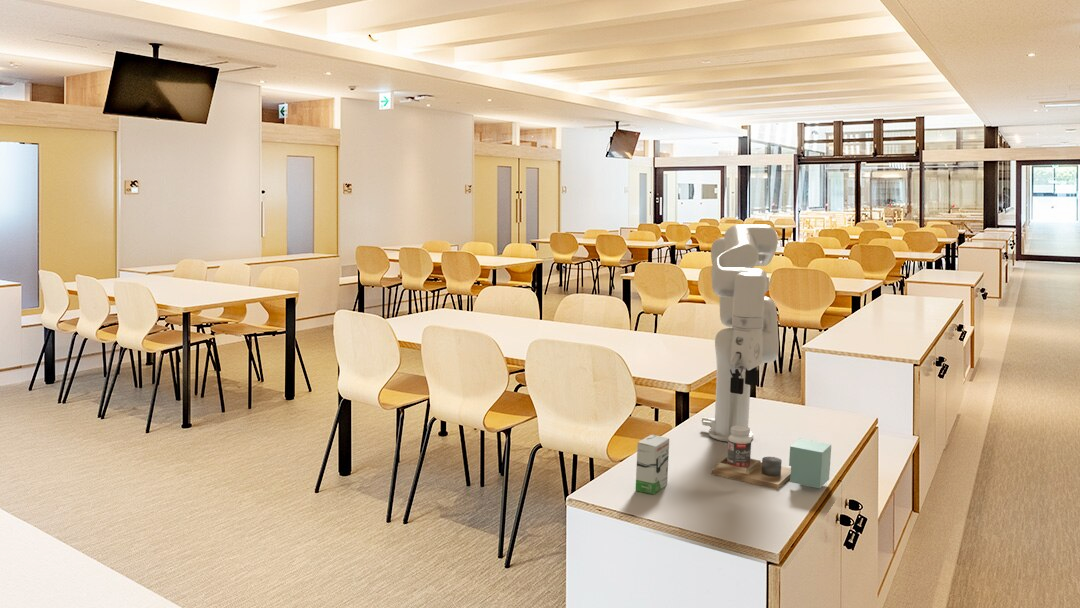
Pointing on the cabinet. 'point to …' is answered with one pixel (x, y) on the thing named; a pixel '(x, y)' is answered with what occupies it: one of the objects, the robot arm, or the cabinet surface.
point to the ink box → (652, 464)
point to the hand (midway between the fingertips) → (743, 388)
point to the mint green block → (810, 463)
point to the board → (756, 472)
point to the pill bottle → (739, 447)
